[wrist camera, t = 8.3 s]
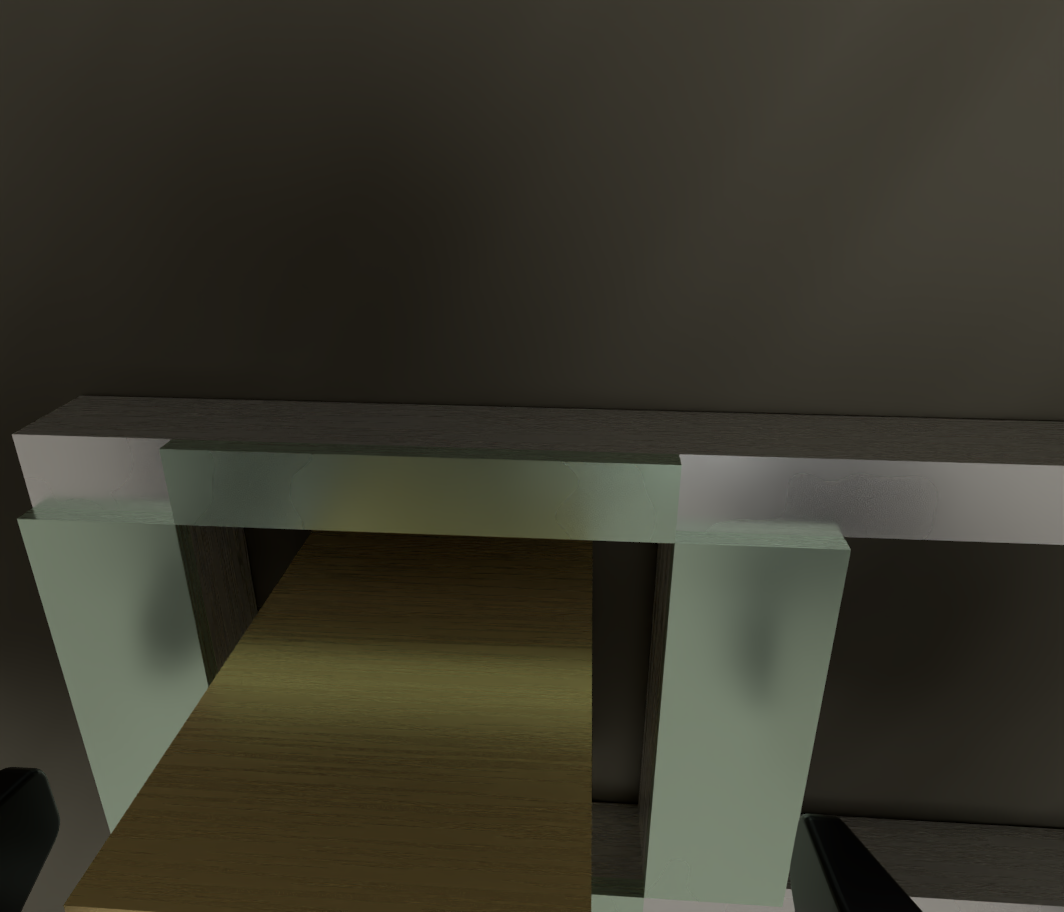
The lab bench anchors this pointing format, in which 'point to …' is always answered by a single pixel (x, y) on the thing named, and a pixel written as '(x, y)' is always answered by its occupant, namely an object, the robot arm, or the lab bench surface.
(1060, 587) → the lab bench surface
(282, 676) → the brass block
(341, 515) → the grey compartment frame
